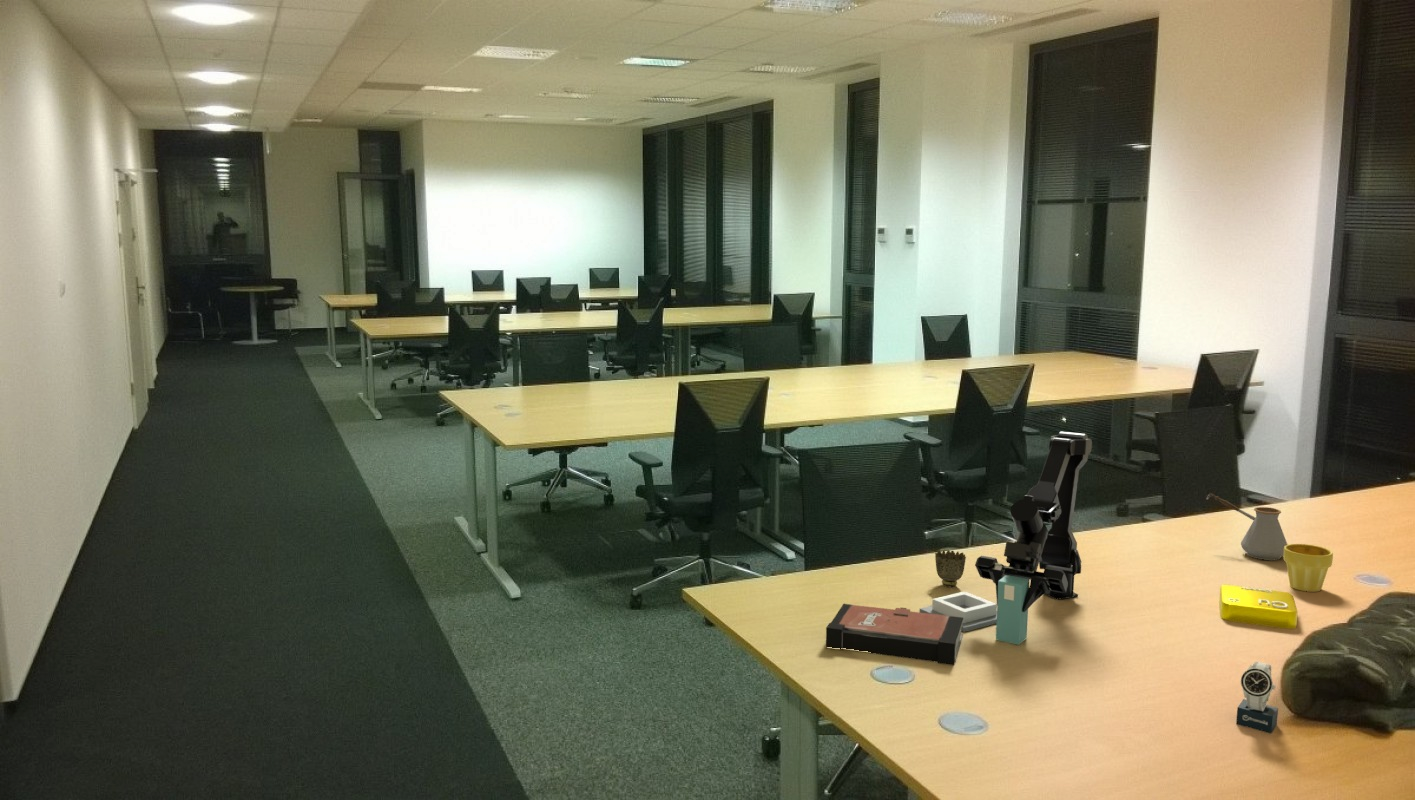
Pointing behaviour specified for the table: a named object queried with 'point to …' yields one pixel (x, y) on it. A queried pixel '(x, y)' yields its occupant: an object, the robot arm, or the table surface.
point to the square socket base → (965, 609)
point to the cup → (950, 567)
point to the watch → (1257, 699)
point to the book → (896, 633)
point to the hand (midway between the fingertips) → (1010, 608)
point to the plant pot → (1307, 566)
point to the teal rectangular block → (1012, 609)
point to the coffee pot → (1261, 532)
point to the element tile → (1258, 606)
